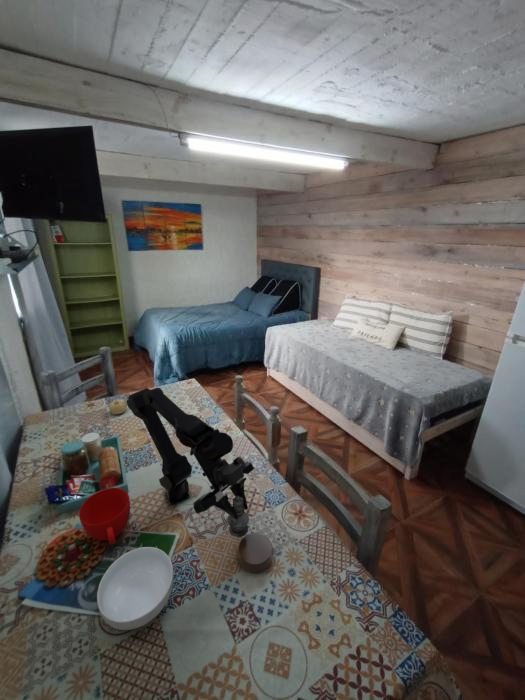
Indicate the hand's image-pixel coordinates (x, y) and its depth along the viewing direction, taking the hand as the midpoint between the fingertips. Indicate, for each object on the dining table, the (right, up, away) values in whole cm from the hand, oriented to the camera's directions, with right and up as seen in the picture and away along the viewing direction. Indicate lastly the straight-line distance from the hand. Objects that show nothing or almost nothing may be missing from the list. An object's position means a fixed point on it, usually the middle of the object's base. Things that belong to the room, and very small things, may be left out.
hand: (241, 513), depth 84 cm
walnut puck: (+4, -13, +2) cm, 13 cm away
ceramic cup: (-38, -10, +8) cm, 41 cm away
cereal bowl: (-24, -17, -8) cm, 30 cm away
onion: (-64, +14, +69) cm, 95 cm away
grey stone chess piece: (-1, -6, +3) cm, 7 cm away
